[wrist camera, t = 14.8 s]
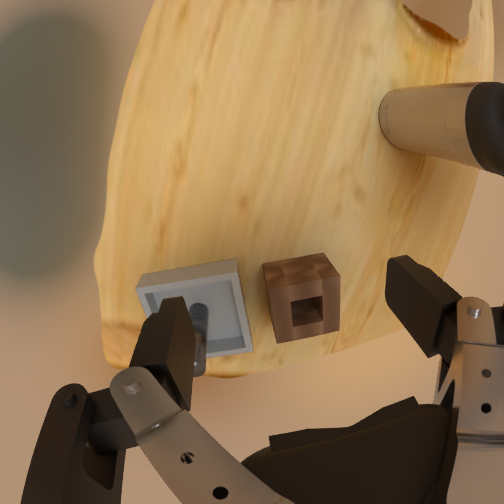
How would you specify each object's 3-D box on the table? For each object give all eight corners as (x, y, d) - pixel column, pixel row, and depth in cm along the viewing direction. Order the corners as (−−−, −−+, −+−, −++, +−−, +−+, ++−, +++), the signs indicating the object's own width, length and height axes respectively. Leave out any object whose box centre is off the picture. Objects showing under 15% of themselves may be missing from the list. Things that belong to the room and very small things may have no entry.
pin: (206, 301, 42) (201, 358, 31) (210, 317, 43) (208, 375, 32) (186, 304, 42) (176, 361, 31) (191, 320, 43) (184, 378, 32)
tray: (236, 258, 41) (237, 271, 37) (251, 334, 47) (253, 351, 43) (142, 274, 41) (135, 288, 37) (169, 346, 46) (166, 362, 43)
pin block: (323, 252, 42) (339, 275, 35) (325, 303, 45) (339, 330, 39) (262, 263, 42) (269, 289, 35) (270, 314, 45) (276, 343, 39)
